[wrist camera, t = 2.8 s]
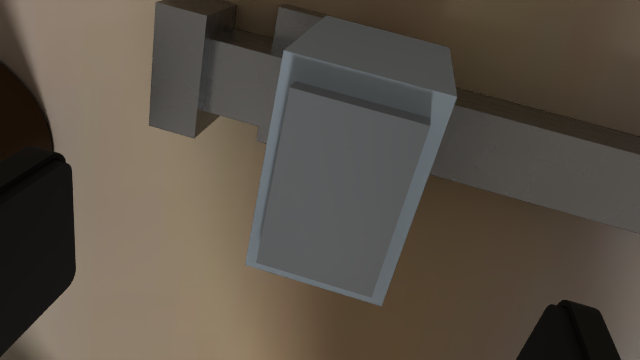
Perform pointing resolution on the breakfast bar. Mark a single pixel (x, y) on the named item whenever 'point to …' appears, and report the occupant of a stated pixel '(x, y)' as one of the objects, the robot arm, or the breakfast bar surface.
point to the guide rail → (457, 142)
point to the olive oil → (19, 117)
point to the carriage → (349, 155)
